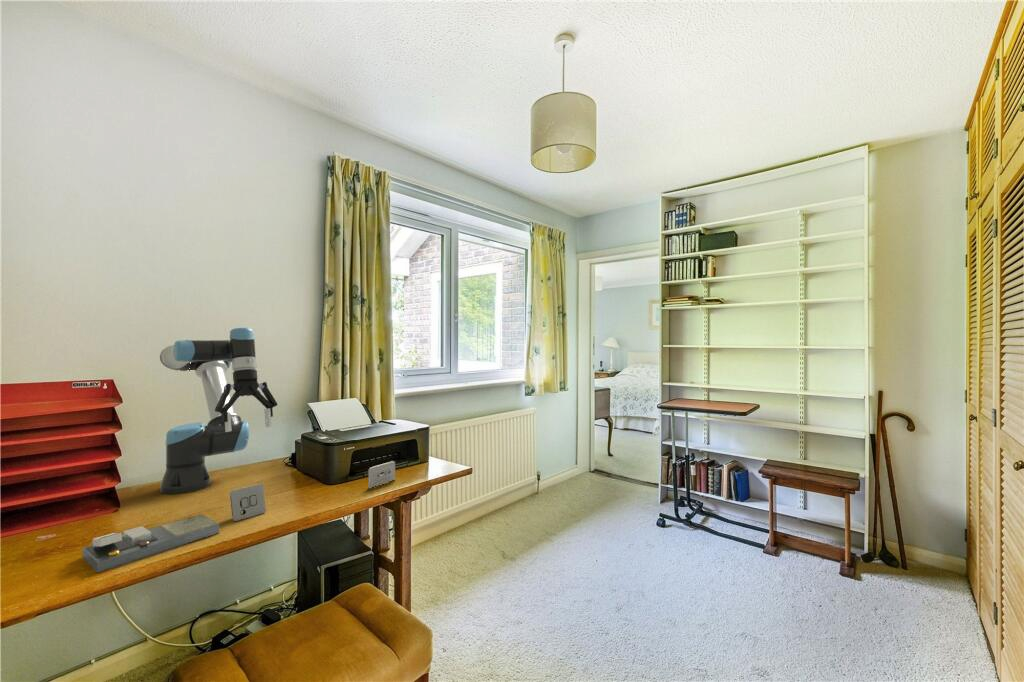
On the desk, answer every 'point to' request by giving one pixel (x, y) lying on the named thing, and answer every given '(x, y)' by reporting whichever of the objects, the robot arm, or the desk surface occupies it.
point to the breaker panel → (149, 542)
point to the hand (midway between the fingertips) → (249, 429)
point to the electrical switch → (247, 502)
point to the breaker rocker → (107, 539)
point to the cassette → (380, 479)
